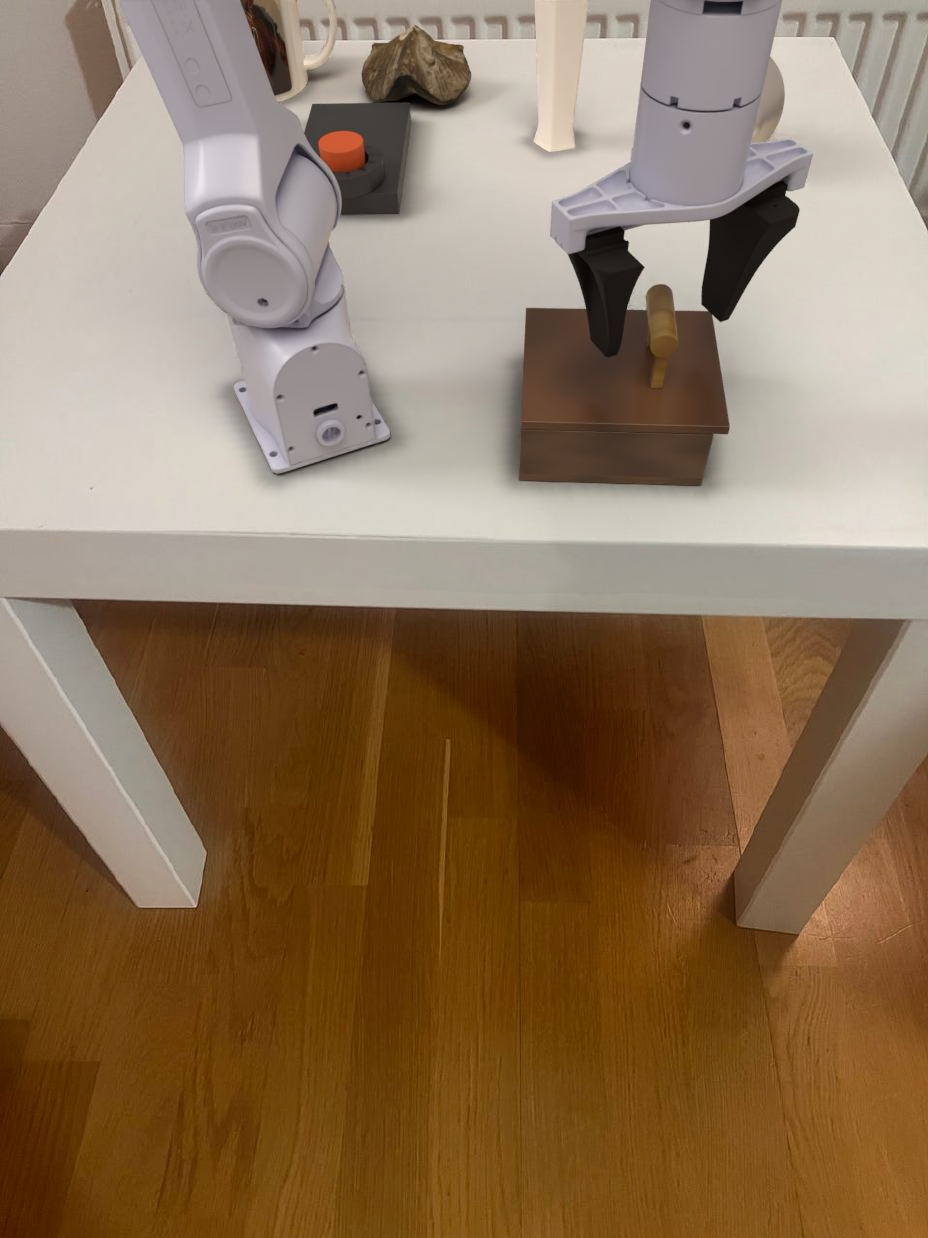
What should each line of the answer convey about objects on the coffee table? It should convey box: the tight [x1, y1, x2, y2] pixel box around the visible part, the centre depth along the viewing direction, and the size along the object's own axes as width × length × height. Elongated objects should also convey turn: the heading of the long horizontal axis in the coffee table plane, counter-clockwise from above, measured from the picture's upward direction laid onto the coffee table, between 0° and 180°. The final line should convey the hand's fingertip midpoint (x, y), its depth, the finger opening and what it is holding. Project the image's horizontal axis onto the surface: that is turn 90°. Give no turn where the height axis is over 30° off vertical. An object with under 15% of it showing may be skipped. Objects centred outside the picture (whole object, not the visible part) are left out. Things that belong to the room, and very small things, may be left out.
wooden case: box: [518, 428, 715, 486], centre depth 60 cm, size 11×11×4 cm
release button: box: [319, 131, 365, 172], centre depth 76 cm, size 4×4×2 cm
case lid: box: [520, 283, 731, 435], centre depth 56 cm, size 12×11×4 cm
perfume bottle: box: [533, 0, 590, 153], centre depth 78 cm, size 5×4×15 cm
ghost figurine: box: [751, 56, 786, 143], centre depth 78 cm, size 9×10×10 cm
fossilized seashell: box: [361, 24, 472, 106], centre depth 88 cm, size 8×7×10 cm
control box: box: [304, 102, 412, 216], centre depth 81 cm, size 17×9×4 cm, turn 178°
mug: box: [240, 0, 338, 103], centre depth 88 cm, size 10×12×11 cm
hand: (660, 328), depth 55 cm, fingers open, 7 cm apart
